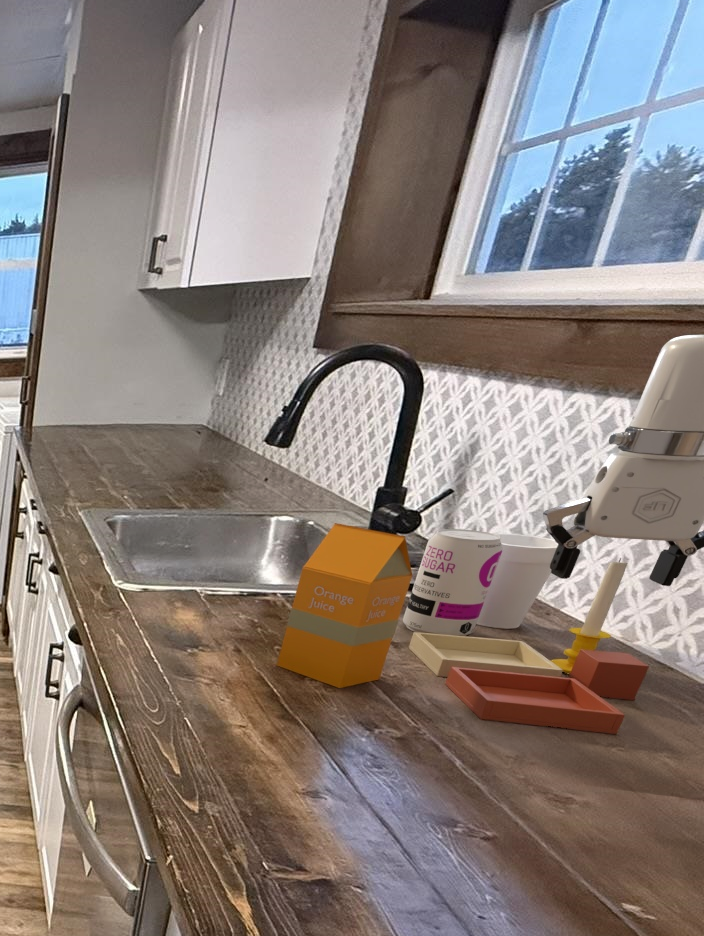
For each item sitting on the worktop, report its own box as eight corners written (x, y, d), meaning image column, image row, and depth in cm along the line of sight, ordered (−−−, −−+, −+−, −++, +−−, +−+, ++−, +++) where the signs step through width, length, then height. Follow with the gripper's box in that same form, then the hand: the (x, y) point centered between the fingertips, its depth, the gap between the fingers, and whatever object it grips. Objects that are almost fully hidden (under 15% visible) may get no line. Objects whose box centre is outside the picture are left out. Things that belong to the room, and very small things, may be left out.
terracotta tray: (567, 696, 104) (574, 678, 103) (616, 734, 95) (625, 714, 94) (444, 683, 109) (451, 666, 108) (480, 719, 99) (487, 700, 98)
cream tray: (516, 657, 116) (523, 641, 115) (556, 688, 106) (563, 670, 105) (408, 647, 120) (413, 631, 119) (437, 676, 111) (442, 659, 110)
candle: (537, 661, 114) (581, 552, 108) (584, 664, 113) (631, 553, 107) (563, 675, 110) (610, 562, 104) (612, 678, 108) (663, 564, 102)
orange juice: (339, 688, 108) (384, 540, 101) (275, 665, 116) (312, 525, 108) (380, 679, 111) (427, 533, 103) (315, 657, 118) (354, 519, 111)
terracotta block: (613, 686, 106) (628, 653, 104) (634, 700, 102) (649, 666, 101) (566, 681, 108) (579, 649, 106) (584, 695, 104) (599, 661, 102)
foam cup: (447, 622, 129) (475, 541, 124) (455, 608, 135) (482, 530, 130) (530, 636, 123) (564, 551, 118) (536, 621, 128) (568, 539, 123)
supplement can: (479, 631, 125) (514, 534, 120) (460, 643, 121) (496, 544, 115) (412, 618, 132) (442, 525, 126) (393, 629, 127) (423, 534, 122)
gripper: (589, 446, 100) (535, 581, 107) (791, 451, 93) (720, 594, 100) (558, 438, 106) (509, 566, 113) (746, 442, 100) (681, 577, 106)
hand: (608, 579), depth 106 cm, fingers open, 9 cm apart
